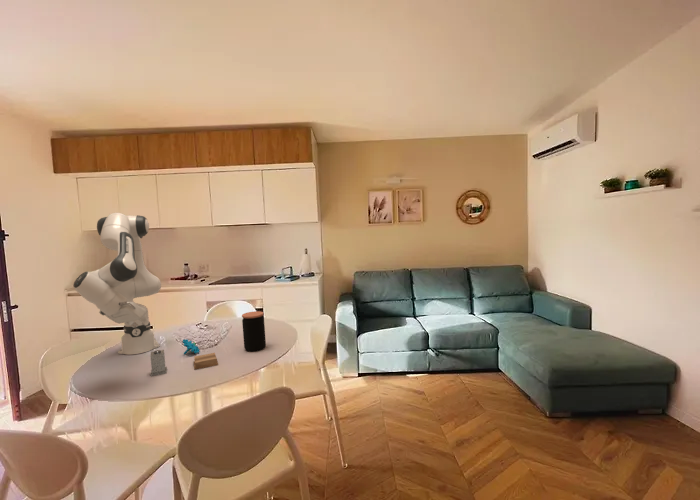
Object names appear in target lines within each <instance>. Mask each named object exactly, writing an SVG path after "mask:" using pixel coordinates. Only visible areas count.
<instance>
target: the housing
mask: <svg viewBox="0 0 700 500" xmlns="http://www.w3.org/2000/svg"><path fill="white" fill-rule="evenodd" d="M149 357H150V366H151V370H150V377H155V376H160V375H165V374H167V372H168V367H167V366H166V358H165V350H164V349H156V350H154V351H151V352H150V356H149Z"/></svg>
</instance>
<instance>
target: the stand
mask: <svg viewBox="0 0 700 500" xmlns="http://www.w3.org/2000/svg"><path fill="white" fill-rule="evenodd" d="M193 359H194V361H193V370H194V371H196V370H201V369H206V368H211V367H216V366H219V362H218V358H217V355H216V353H215V352H210V353H206V354H201V355H195V356H194V357H193Z"/></svg>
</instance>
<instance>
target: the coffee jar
mask: <svg viewBox="0 0 700 500" xmlns="http://www.w3.org/2000/svg"><path fill="white" fill-rule="evenodd" d="M264 314H265V313H264V311H260V310H259V311H257V310H255V311H248V312H245V313H243V314H242V315H241V317H242V320H241V324H242V335H243V337H242V338H243V346H244V347H243V348H244V350H245V351H246V352H249V353H254V352H255V353H256V352H260V351H263V350H264V349H265V348H266V345H267V342H266V328H265V327H266V326H265V316H264Z"/></svg>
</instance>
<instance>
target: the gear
mask: <svg viewBox="0 0 700 500" xmlns="http://www.w3.org/2000/svg"><path fill="white" fill-rule="evenodd" d="M182 344H183V346H184V347H186V350H185V351H183V355H186V354H187V353H188V352H191V353H194V354H199V353H200V351H201V350H200V349H199V346H198V345H196V342H193V341H192V340H189V339H187V338H186V339H185V338H183V339H182Z"/></svg>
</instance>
